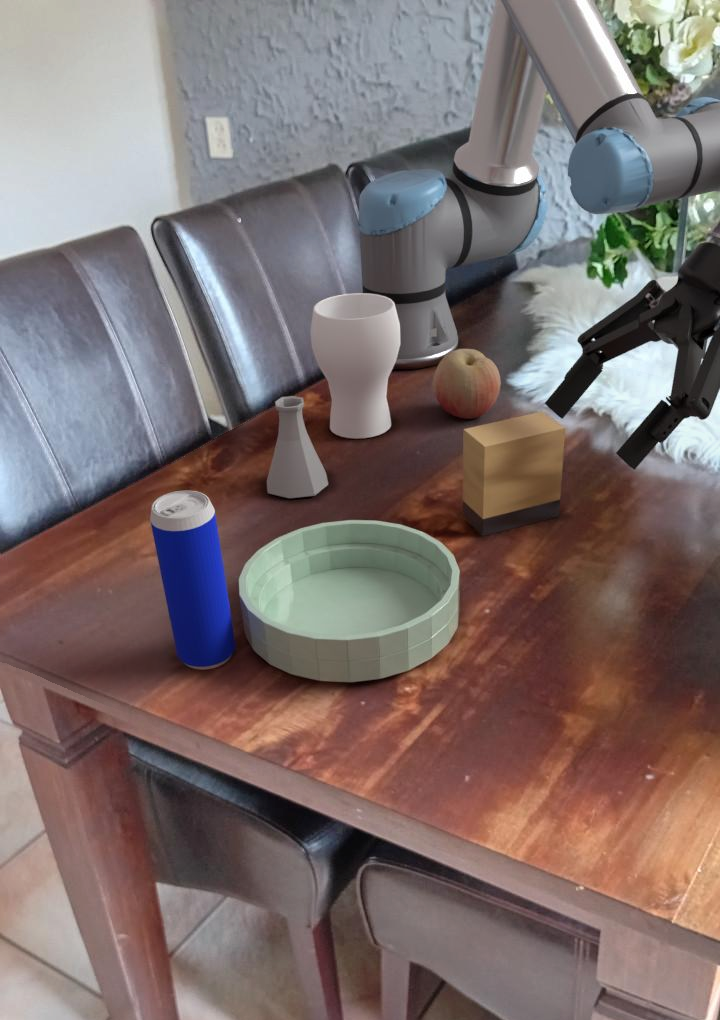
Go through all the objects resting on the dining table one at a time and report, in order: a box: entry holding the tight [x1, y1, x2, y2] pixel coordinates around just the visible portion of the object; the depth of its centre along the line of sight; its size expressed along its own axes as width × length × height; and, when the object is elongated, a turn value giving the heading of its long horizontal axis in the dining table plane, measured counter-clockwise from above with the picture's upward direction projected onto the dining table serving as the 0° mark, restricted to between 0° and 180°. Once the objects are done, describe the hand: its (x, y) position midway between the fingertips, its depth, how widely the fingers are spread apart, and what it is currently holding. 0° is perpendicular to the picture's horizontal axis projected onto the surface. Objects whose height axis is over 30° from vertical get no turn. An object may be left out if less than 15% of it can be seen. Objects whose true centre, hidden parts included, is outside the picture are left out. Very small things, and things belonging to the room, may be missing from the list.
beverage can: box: [149, 490, 237, 671], centre depth 84 cm, size 5×5×15 cm
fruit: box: [432, 348, 501, 420], centre depth 124 cm, size 8×8×8 cm
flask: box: [266, 395, 329, 499], centre depth 110 cm, size 7×7×10 cm
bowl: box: [238, 519, 461, 683], centre depth 90 cm, size 19×19×5 cm
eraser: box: [462, 411, 566, 537], centre depth 102 cm, size 9×4×10 cm, turn 112°
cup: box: [310, 292, 400, 440], centre depth 121 cm, size 11×11×15 cm
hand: (587, 435), depth 103 cm, fingers open, 13 cm apart
